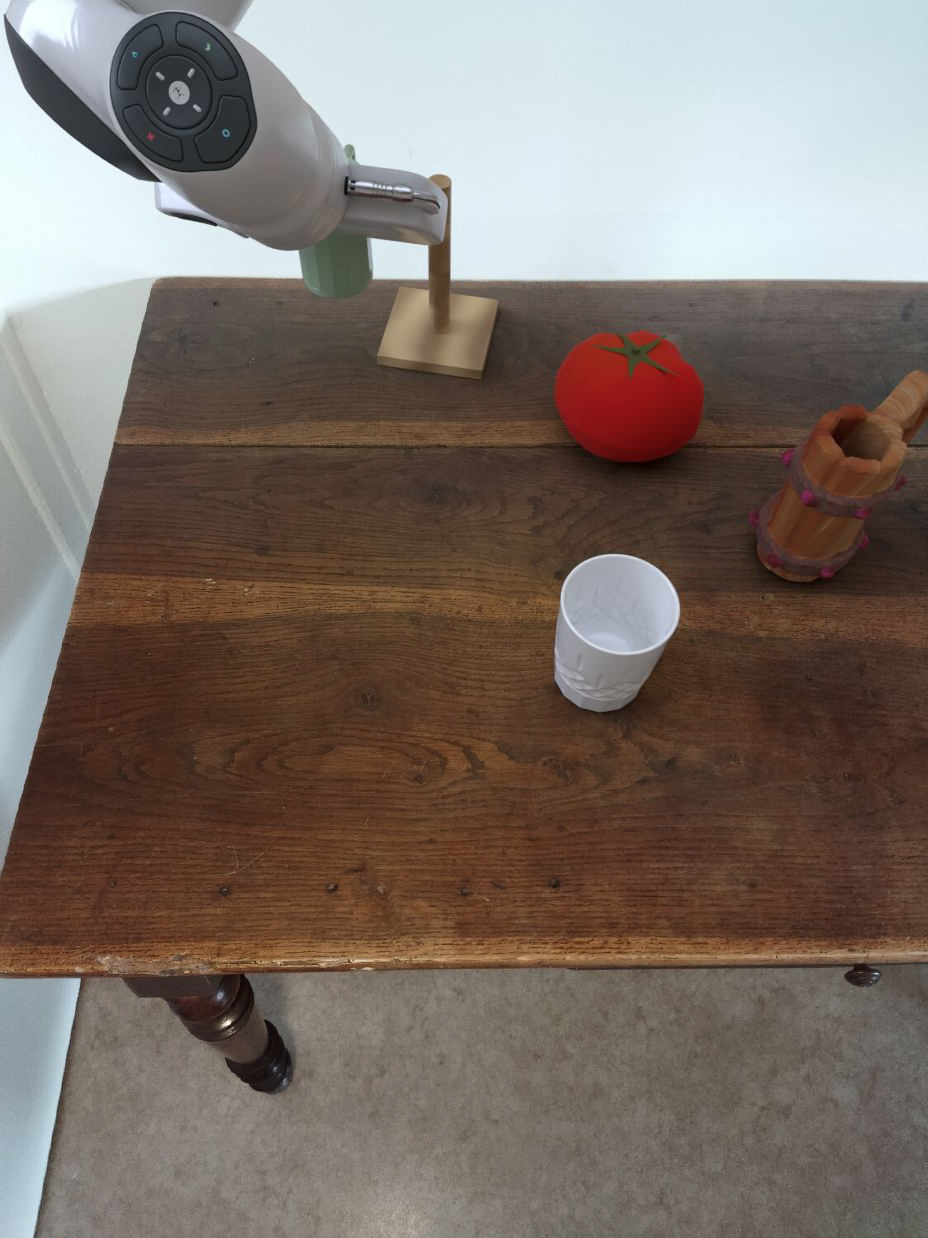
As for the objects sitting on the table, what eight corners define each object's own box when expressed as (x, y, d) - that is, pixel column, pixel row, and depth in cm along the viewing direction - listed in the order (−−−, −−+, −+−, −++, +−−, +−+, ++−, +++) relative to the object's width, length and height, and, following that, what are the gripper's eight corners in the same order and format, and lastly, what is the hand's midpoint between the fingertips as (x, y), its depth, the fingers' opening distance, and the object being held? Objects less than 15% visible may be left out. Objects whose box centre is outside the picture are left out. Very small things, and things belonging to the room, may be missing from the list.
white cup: (544, 626, 69) (559, 551, 60) (645, 629, 69) (674, 555, 60) (546, 718, 65) (562, 652, 56) (653, 722, 65) (685, 657, 56)
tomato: (673, 502, 76) (703, 417, 67) (532, 461, 78) (544, 373, 69) (701, 413, 81) (733, 324, 72) (569, 377, 83) (584, 285, 74)
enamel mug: (364, 303, 74) (354, 204, 66) (294, 293, 74) (277, 194, 67) (390, 229, 79) (384, 129, 71) (325, 220, 79) (312, 120, 72)
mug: (797, 617, 70) (878, 496, 57) (718, 553, 73) (778, 424, 60) (904, 521, 75) (1000, 391, 62) (826, 465, 78) (902, 330, 65)
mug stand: (498, 309, 88) (509, 153, 74) (481, 380, 83) (489, 226, 69) (351, 288, 89) (334, 131, 75) (325, 357, 84) (302, 201, 70)
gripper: (440, 142, 57) (464, 193, 70) (137, 104, 58) (216, 161, 72) (428, 246, 58) (453, 277, 72) (132, 207, 60) (211, 244, 73)
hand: (333, 219), depth 72 cm, fingers closed on enamel mug, 6 cm apart
